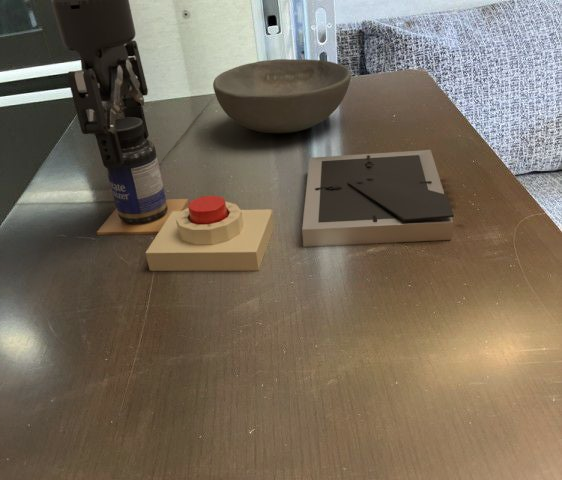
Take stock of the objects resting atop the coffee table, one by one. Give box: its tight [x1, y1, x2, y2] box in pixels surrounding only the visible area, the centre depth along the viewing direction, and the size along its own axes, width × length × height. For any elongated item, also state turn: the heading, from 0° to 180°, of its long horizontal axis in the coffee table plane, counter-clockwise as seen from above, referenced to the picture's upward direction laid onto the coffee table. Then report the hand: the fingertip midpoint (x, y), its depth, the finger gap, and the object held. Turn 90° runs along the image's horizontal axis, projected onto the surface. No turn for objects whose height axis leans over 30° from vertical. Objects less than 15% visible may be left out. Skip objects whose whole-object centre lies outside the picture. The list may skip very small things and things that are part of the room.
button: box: [187, 195, 228, 225], centre depth 67 cm, size 4×4×2 cm
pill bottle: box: [105, 117, 168, 224], centre depth 74 cm, size 6×6×11 cm
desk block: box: [144, 201, 275, 272], centre depth 68 cm, size 12×10×4 cm
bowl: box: [212, 58, 352, 134], centre depth 97 cm, size 21×21×8 cm
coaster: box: [96, 198, 190, 236], centre depth 77 cm, size 9×9×1 cm
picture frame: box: [301, 149, 455, 248], centre depth 74 cm, size 16×3×21 cm
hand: (127, 152), depth 72 cm, fingers open, 8 cm apart
